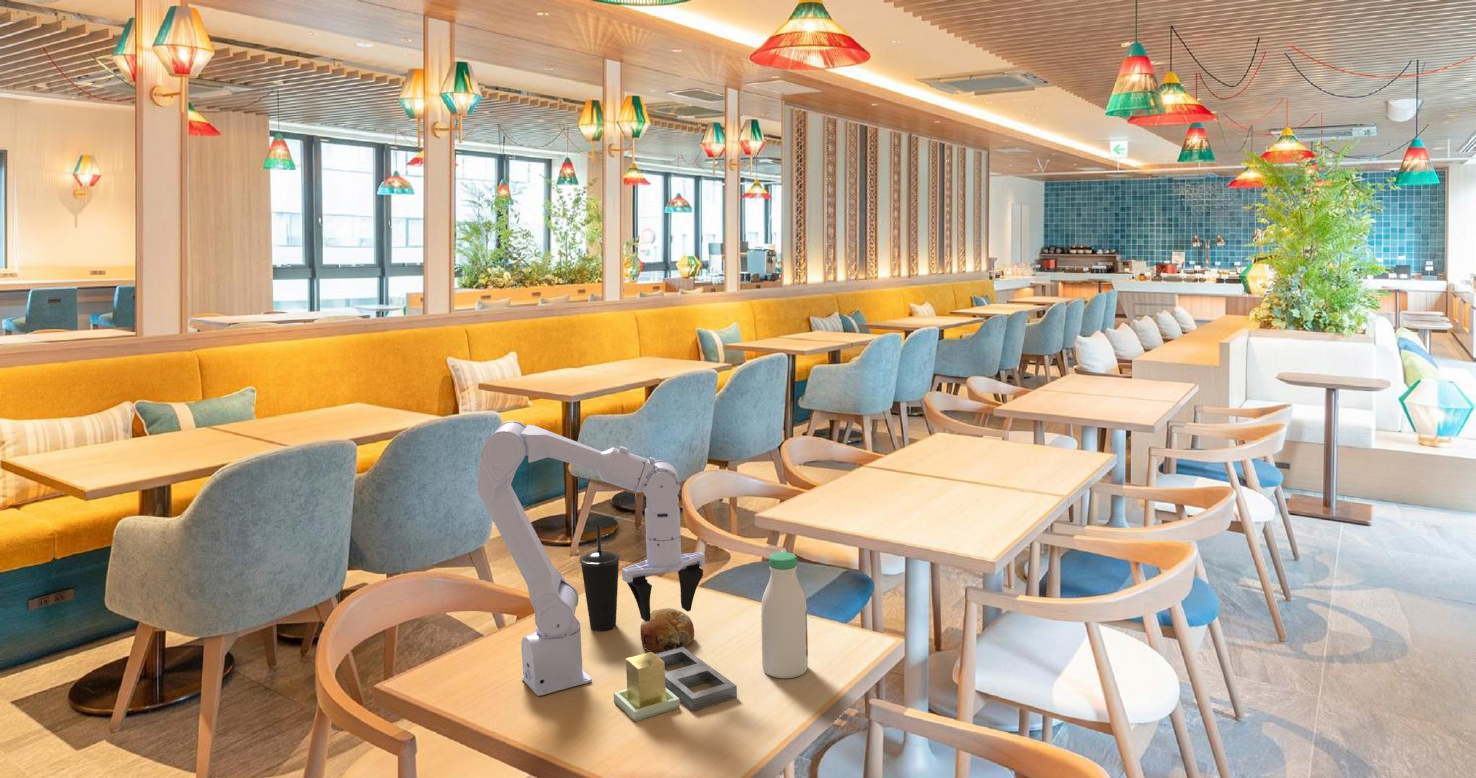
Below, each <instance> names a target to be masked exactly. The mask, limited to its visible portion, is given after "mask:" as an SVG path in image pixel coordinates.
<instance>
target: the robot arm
mask: <svg viewBox="0 0 1476 778" xmlns="http://www.w3.org/2000/svg"><path fill="white" fill-rule="evenodd" d="M628 451H629V448H628V447H625V446H623V445H620V447H619V448H617V447H611V448H608V449H606V450H603V451H601V450H598V449H597V448H595V447H591V446H589V445H586V444H583V443H581V442H579V441H576V440H573V439H571V438H568V437H565V436H563V435H561V434H558V433H555V432H552V431H550V430H547V429H544V428H541V427H539V426H537V425H532V424H527V425H525V424H524V423H522V422H520V421H516V420H508V421H505V422H503V423H501V424H500V425H498V427H497V428H496V429H495V431H494V432H493V434H491V435H490V436H489V437H488V438H487V440H486V442H485V443H484V445H483V448H482V449H481V451H480V453H479V465H478V476H477V485H476V488H477V489H476V490H477V493H478V495H479V497H480V498H481V500H482V502H483V505H484V506H485V508H486V510H487V511H488V514H489V515H490V517H491V519H492V521H493V523H494V525H495V526H496V529H497V530H498V533H499V534H500V536H501V538H502V540H503V543H504V544H505V546H506V547H507V549H508V551H509V553H510V555H511V557H512V559H513V560H514V563H515V565H516V566H517V568H518V571H519V572H520V574H521V576H522V577H523V579H524V582H525V584H526V586H527V589H528V591H527V592H528V595H529V601H530V604H531V605H532V607H533V611H534V622H535V626H536V628H535V631H533V632H532V633H530V634H527V635H525V636H523V637H522V639H521V662H522V663H521V664H522V676H521V679H522V680H523V681H524V683H525V684H526V685H527V686H528V687H529V689H530V690H531V691H533V693H534V694H535V695H536V696H537V697H540V696H544V695H548V694H551V693H555V692H559V691H562V690H566V689H570V688H573V687H576V686H580V685H584V684H588V683H590V682H592V681H593V680H592V677H591V676H590V675H589V674H588V673H586V672H585V671H584V669H583V651H582V635H581V623H580V621H579V619H577V617H576V615H575V613H576V609H577V606H578V605H579V600H580V599H579V594H578V593H579V592H578V591H577V589H576V588H575V587H574V586H573V585H572V584H570V582H568V581H567V580H566V579H565V578H564V576H563V574H562V572H561V571H559V570H558V569H557V568H555V566H554V565H553V563H552V561H551V559H550V557H549V555H548V553H547V551H546V549H545V547H544V546H543V544H542V541H541V540H540V538H539V536H538V534H537V532H536V530H535V528H534V527H533V524H532V523H531V521H530V519H529V517H528V515H527V512H526V511H525V510H524V507H523V505H522V504H521V502H520V500H519V498H518V496H517V493H516V492H515V491H514V489H513V486H512V482H513V479H514V477H515V475H516V473H517V472H516V471H517V469H518V467H519V466H520V465H521V464H522V462H523V461H524V459H525V457H527V456H528V457H527V462H528V463H529V464H531V463H533V462H537V461H539V460H543V459H547V458H550V459H554V460H557V461H561V462H564V463H568V464H572V465H575V466H578V467H582V468H585V469H589V470H591V471H595V472H596V473H597V475H598V476H599V477H598V478H599V479H600V481H602V482H604V483H608V484H611V485H613V486H617V487H619V488H623V489H626V490H629V491H632V492H634V493H636V494H637V493H643V494H644V496H645V500H646V508H644V521H645V525H644V526H645V544H646V545H645V546H646V547H645V548H646V559H645V560H643V561H640V562H637V563H635V564H632V565H629V566H627V567H623V568H621V577H622V581H623V582H625V583H627V586H628V587H629V589H630V591H631V592H632V594H633V597H634V599H635V601H636V604H637V607H638V611H639V614H640V619H641V620H643V621H646V622H648V621H650V616H651V615H650V614H651V594H652V588H653V585H652V584H651V583H649V582H648V579H646V578H649V577H653V576H658V575H662V574H663V575H664V574H666V573H670V574H671V573H677V575H678V580H679V586H680V589H679V590H680V604H681V609H683V610H684V611H686V612H690V611H692V605H693V601H694V598H695V597H694V596H695V593H696V591H697V588H698V586H699V583H700V582H701V580H702V578H703V576H704V570H703V569H702V567H704V566H706V554H704V553H702V552H701V551H696V552H693V553H692V552H691V553H688V552H687V553H682V543H681V542H682V541H681V540H682V539H681V537H682V536H681V534H682V533H681V510H680V507H679V503H680V501H679V500H680V499H679V493H680V490H681V485H680V479H679V474H678V472H677V469H676V468H675V466H673V464H671V463H669V462H667V461H666V460H664V459H658V460H656V458H655V457H652V456H650V457H649V458H646V457H644V456H640V455H637V454H633V453H632V452H628Z"/></svg>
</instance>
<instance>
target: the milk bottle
mask: <svg viewBox="0 0 1476 778" xmlns="http://www.w3.org/2000/svg"><path fill="white" fill-rule="evenodd" d="M797 557H798V556H797V555H796V554H794V553H791V552H787V551H782V552H780V551H779V552H774V553H772V554H770V555H769V563H768V564H769V570H770V577H769V580H768V583H767V584H766V585H767V586H766V588H765V590H764V593H763V595H762V599H761V606H760V607H761V608H760V609H761V616H760V618H761V624H760V625H761V626H760V627H761V628H760V631H761V666H762V670H763V672H764V673H765V674H766V675H768V676H770V677H773V678H776V679H793V678H797V677H800V676H802V675H804V674H805V673H806V672H807V670H808V666H809V659H808V658H809V652H808V651H809V649H808V647H809V646H808V645H809V644H808V643H809V642H808V640H809V639H808V636H809V635H808V611H807V610H808V608H807V606H808V605H807V601H806V595H805V593H804V591H803V588H802V586H801V585H800V582H799V579H798V576H797V569H798V567H797V566H798V558H797Z"/></svg>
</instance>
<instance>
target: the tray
mask: <svg viewBox="0 0 1476 778" xmlns="http://www.w3.org/2000/svg"><path fill="white" fill-rule="evenodd" d="M665 688H666V687H665ZM613 702H614V703H615V704H616V705H617V706H618V707H619V708H620V709H621V710H622V711H623V712H624V713H626V714H627V715H628V717H630V718H631V719H632V720H633V721H634V722H638V721H641V720H644V719H648V718H650V717H655V716H657V715H660V714H663V713H668V712H670V711H674V710H677V709H680V708H681V707H680V705H681V704H680V702H681V701H680V699H679V698H678V697H677V696H676V695H674V694H673V693H672V692H671V691H670V690H668V689H667V688H666V701H663V702H660V703H657V704H653V705H650V706H647V707H643V708H640V709H636V708H635V707H634V706H633V705H632V704H631V703H630V702H629V701H628V696H627V688H624V689H621V690H618V691H615V692H613Z"/></svg>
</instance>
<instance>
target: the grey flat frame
mask: <svg viewBox="0 0 1476 778" xmlns="http://www.w3.org/2000/svg"><path fill="white" fill-rule="evenodd" d="M654 654H655V655H657V656H658V657H659V658H660V659H662V660H663V661H664V662H665V668H667V666H668V667H670V666H674V665H679V664H681V663H682V664H683V665H685V666H684V667H683V666H682V667H681V668H677V669H674V670H673V669H672V670H670V671H669V670H668V671H667V670H666V669H665V687H666V688H667V689H668V690H670V691H671V692H672V693H673V694H674V695H676V696H677V697H678V698H679V699H680V702H681V703H682V704H683V705H685V706H686V707H687V708H688V709H690V710H691V711H692V712H695V711H699V710H701V709H704V708H707V707H711V706H714V705H717V704H720V703H724V702H727V701H731V700H734V699H736V698H738V687H737V686H738V685H737V684H735V683H734V682H732V680H729V679H728V678H727V677H726V676H725V675H723V674H722V673H720V672H718V671H717V670H716V669H714V668H713V667H712V666H710V665H709V664H708V663H706V662H704V661H703V660H702V659H700V657H698V656H696V655H695V654H694V653H693V652H691V651H690V650H688V649H687V648H686V647H685V648H684V647H680V648H676V649H672V650H669V651H665V652H661V653H654ZM705 683H708V684H710V685H711V686H712V687H710V688H709V687H708V688H706V689H703V690H699V691H696V692H693V691H692V690H691V689H689V688H692V687H696V686H700V685H702V684H705Z"/></svg>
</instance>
